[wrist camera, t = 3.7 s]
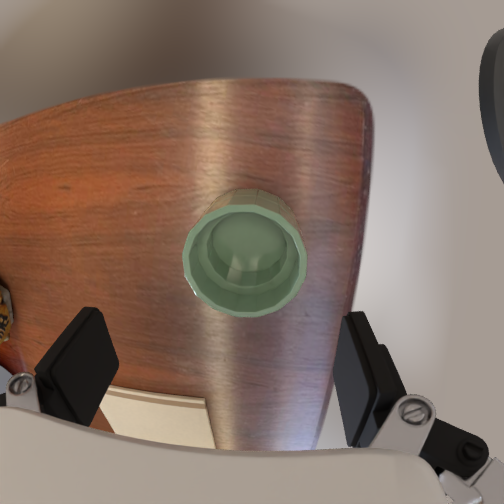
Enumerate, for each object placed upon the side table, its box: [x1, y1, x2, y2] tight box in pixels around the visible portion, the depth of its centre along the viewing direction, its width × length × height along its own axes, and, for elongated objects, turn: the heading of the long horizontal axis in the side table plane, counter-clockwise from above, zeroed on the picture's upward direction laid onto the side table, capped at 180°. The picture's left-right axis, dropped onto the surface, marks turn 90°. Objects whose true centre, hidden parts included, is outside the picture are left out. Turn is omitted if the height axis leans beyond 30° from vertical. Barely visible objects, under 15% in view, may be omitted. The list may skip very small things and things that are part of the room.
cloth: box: [100, 385, 216, 449], centre depth 31 cm, size 14×14×1 cm
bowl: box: [182, 189, 307, 317], centre depth 19 cm, size 7×7×4 cm
